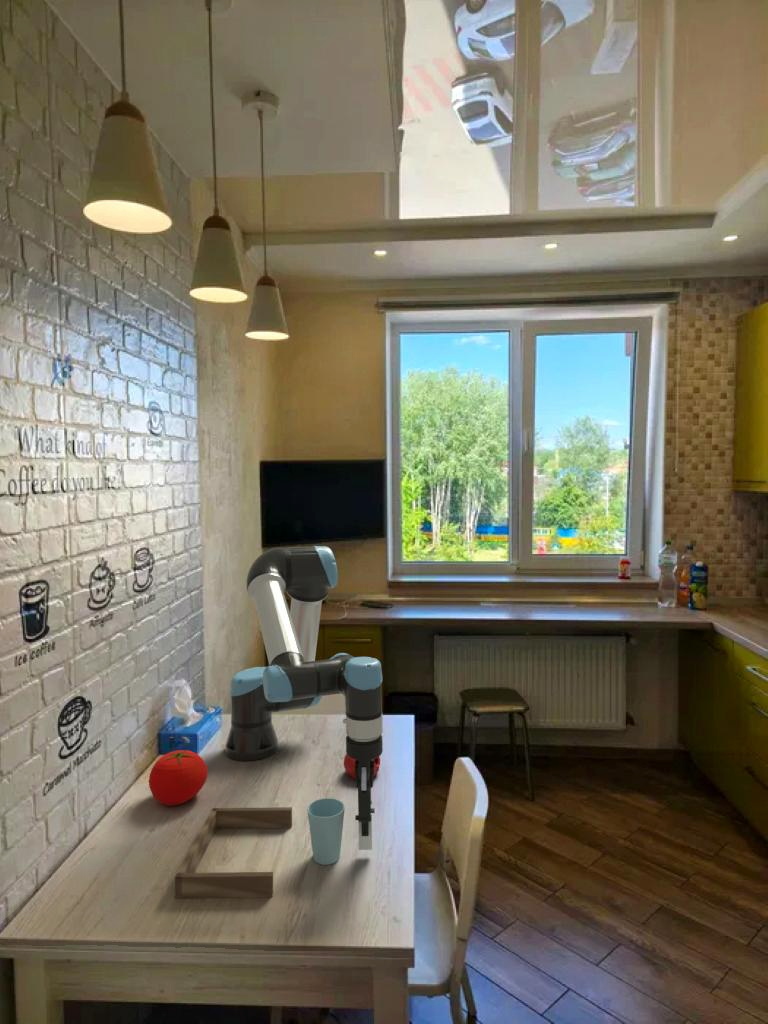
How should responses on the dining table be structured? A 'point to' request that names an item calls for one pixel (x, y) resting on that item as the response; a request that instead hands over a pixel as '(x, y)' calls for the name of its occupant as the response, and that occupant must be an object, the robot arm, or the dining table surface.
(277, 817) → the corral
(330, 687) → the robot arm
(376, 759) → the pomegranate
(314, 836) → the cup
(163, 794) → the tomato
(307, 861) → the dining table surface
